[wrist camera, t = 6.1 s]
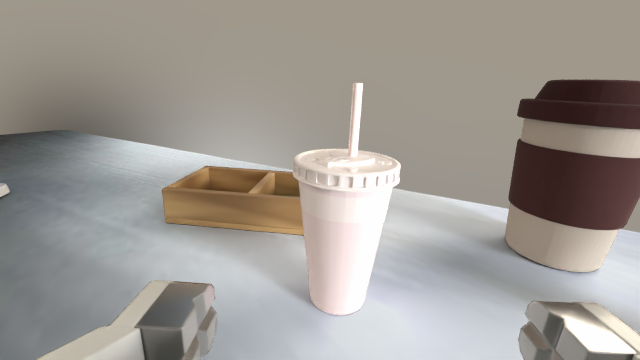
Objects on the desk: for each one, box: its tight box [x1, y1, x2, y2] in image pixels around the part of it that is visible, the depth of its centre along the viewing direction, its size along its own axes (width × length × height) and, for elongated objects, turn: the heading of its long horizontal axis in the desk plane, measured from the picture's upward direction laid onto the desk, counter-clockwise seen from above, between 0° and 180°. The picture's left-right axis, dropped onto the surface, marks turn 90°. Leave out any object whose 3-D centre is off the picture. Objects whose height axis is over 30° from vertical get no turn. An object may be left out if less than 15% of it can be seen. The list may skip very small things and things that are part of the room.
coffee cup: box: [505, 80, 640, 272], centre depth 26 cm, size 10×10×15 cm
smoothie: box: [292, 83, 401, 315], centre depth 19 cm, size 6×6×14 cm
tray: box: [162, 166, 304, 235], centre depth 33 cm, size 9×17×4 cm, turn 84°
